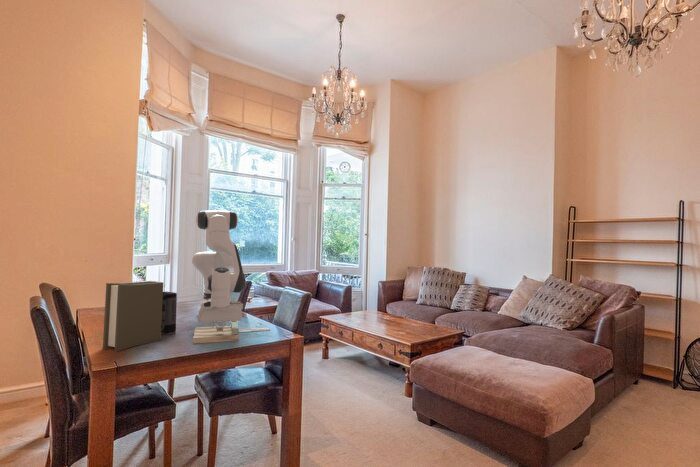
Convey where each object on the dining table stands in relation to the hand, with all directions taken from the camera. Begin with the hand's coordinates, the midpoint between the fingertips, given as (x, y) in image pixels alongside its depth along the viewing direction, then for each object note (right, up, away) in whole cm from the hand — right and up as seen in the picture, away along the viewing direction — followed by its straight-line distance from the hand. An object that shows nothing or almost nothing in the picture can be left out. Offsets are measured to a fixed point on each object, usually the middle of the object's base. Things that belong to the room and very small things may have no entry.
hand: (219, 330), depth 182 cm
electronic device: (-30, -3, +8) cm, 31 cm away
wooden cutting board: (+5, -4, +7) cm, 9 cm away
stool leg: (+5, -1, +7) cm, 8 cm away
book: (-35, -3, -11) cm, 37 cm away
